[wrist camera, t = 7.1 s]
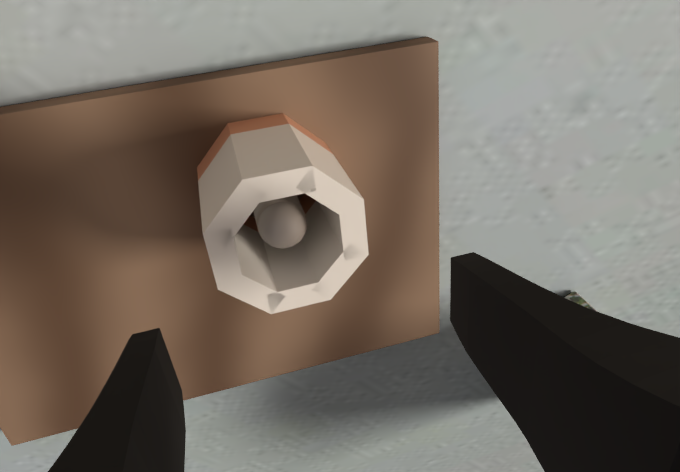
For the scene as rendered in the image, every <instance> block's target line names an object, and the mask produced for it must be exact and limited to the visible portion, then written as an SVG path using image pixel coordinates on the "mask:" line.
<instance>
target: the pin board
mask: <svg viewBox="0 0 680 472" xmlns="http://www.w3.org/2000/svg"><path fill="white" fill-rule="evenodd" d="M281 113H283V114H285V115H286V116H288V117H289V118H291V119H292V120H293V121H295V122H296V123H298V124H299V125H301V126H302V127H303V128H305V129H306V130H308V131H309V132H311V133H312V134H314V135H315V136H316V137H318V138H319V139H321V140H322V141H324V142H325V143H326V144H327V146H328V147H329V149H330V150H331V152H332V153H333V155H334V156H335V158H336V159H337V161H338V162H339V163H340V165H341V166H342V168H343V169H344V171H345V172H346V174H347V175H348V177H349V178H350V180H351V181H352V183H353V184H354V186H355V187H356V189H357V190H358V191H359V193H360V194H361V196H362V197H363V199H364V207H365V218H366V230H367V241H368V253H369V255H368V256H367V257H366V258H365V260H364V261H363V262H362V263H361V264H360V266H359V267H358V268H357V269H356V270H355V271H354V273H353V274H352V275H351V276H350V277H349V279H348V280H347V281H346V282H345V283H344V285H343V286H342V287H341V288H340V289H339V291H338V292H337V293H336V294H335V295H334V296H333V298H332V299H331V300H328V301H323V302H319V303H315V304H311V305H307V306H303V307H299V308H295V309H291V310H287V311H282V312H278V313H274V314H270V313H267V312H265V311H263V310H261V309H259V308H257V307H254V306H252V305H250V304H248V303H246V302H244V301H241V300H239V299H237V298H235V297H233V296H231V295H229V294H226V293H224V292H222V291H220V290H218V288H217V284H216V281H215V277H214V273H213V270H212V266H211V262H210V259H209V255H208V251H207V248H206V244H205V240H204V237H203V232H202V220H201V209H200V197H199V185H198V174H197V167H198V165H199V164H200V162H201V161H202V160H203V158H204V157H205V155H206V154H207V152H208V151H209V149H210V148H211V147H212V145H213V144H214V142H215V141H216V139H217V138H218V136H219V135H220V134H221V132H222V131H223V129H224V128H225V126H226V125H227V123H232V122H237V121H243V120H248V119H254V118H259V117H265V116H270V115H276V114H281ZM304 194H305V193H304ZM304 194H299V195H294V196H289V197H285V198H280V199H275V200H270V201H265V202H261V203H259V204H258V205H257V207H256V208H255V209H254V211H253V212H252V213H251V216H253V217H254V218H255V220H256V224H257V227H258V231H259V234H260V236H261V237H262V239H263V240H264V241H265V242H266V243H267V244H269V245H270V246H272V247H275V248H281V249H284V248H289V247H292V246H294V245H296V244H297V243H299V242H300V241H301V240H302V238H303V237H304V235H305V233H306V229H307V218H306V215H305V213H304V210H303V208H302V206H301V204H300V201H299V200H300V199H301V198H302V196H303V195H304ZM156 328H160V330H161V333H162V336H163V339H164V342H165V344H166V347H167V350H168V353H169V355H170V358H171V361H172V364H173V367H174V369H175V372H176V375H177V378H178V380H179V383H180V386H181V389H182V395H183V400H187V399H191V398H194V397H198V396H202V395H206V394H210V393H213V392H217V391H221V390H225V389H229V388H232V387H236V386H240V385H244V384H247V383H251V382H255V381H259V380H263V379H266V378H270V377H274V376H278V375H282V374H285V373H289V372H293V371H297V370H301V369H304V368H308V367H312V366H316V365H319V364H323V363H327V362H331V361H335V360H338V359H342V358H346V357H350V356H354V355H357V354H361V353H365V352H369V351H373V350H376V349H380V348H384V347H388V346H391V345H395V344H399V343H403V342H407V341H410V340H414V339H418V338H422V337H426V336H429V335H433V334H437V333H439V90H438V41H436V40H434V39H432V38H429V37H423V38H417V39H411V40H404V41H398V42H392V43H386V44H380V45H374V46H368V47H362V48H356V49H350V50H344V51H338V52H332V53H325V54H319V55H313V56H307V57H301V58H295V59H289V60H283V61H277V62H271V63H265V64H259V65H253V66H246V67H240V68H234V69H228V70H222V71H216V72H210V73H204V74H198V75H192V76H186V77H180V78H174V79H167V80H161V81H155V82H149V83H143V84H137V85H131V86H125V87H119V88H113V89H107V90H101V91H95V92H88V93H82V94H76V95H70V96H64V97H58V98H52V99H46V100H40V101H34V102H28V103H22V104H16V105H9V106H3V107H0V428H1V430H2V431H3V433H4V434H5V436H6V437H7V439H8V440H9V442H10V444H11V445H12V446H13V445H16V444H20V443H24V442H28V441H31V440H35V439H39V438H43V437H47V436H50V435H54V434H58V433H62V432H66V431H69V430H73V429H77V428H79V426H80V425H81V423H82V422H83V420H84V419H85V417H86V416H87V414H88V413H89V411H90V409H91V408H92V406H93V404H94V403H95V401H96V399H97V397H98V396H99V394H100V392H101V390H102V389H103V387H104V385H105V383H106V382H107V380H108V378H109V376H110V374H111V372H112V371H113V369H114V367H115V365H116V363H117V361H118V359H119V357H120V355H121V353H122V351H123V350H124V348H125V346H126V344H127V342H128V340H129V338H130V337H131V335H132V334H135V333H140V332H144V331H148V330H152V329H156Z"/></svg>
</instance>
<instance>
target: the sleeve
mask: <svg viewBox="0 0 680 472" xmlns="http://www.w3.org/2000/svg"><path fill="white" fill-rule="evenodd" d="M197 174H198V185H199V197H200V209H201V220H202V232H203V237H204V240H205V244H206V248H207V251H208V255H209V259H210V262H211V266H212V270H213V273H214V277H215V281H216V284H217V288H218V290H220V291H222V292H224V293H226V294H229V295H231V296H233V297H235V298H237V299H239V300H241V301H244V302H246V303H248V304H250V305H252V306H254V307H257V308H259V309H261V310H263V311H265V312H267V313H270V314H274V313H278V312H282V311H287V310H291V309H295V308H299V307H303V306H307V305H311V304H315V303H319V302H323V301H328V300H331V299H332V298H333V296H334V295H335V294H336V293H337V292H338V291H339V289H340V288H341V287H342V286H343V285H344V283H345V282H346V281H347V280H348V279H349V277H350V276H351V275H352V274H353V273H354V271H355V270H356V269H357V268H358V267H359V266H360V264H361V263H362V262H363V261H364V260H365V258H366V257H367V256H368V255H369V253H368V241H367V230H366V218H365V207H364V199H363V197H362V196H361V194H360V193H359V191H358V190H357V189H356V187H355V186H354V184H353V183H352V181H351V180H350V178H349V177H348V175H347V174H346V172H345V171H344V169H343V168H342V166H341V165H340V163H339V162H338V161H337V159H336V158H335V156H334V155H333V153H332V152H331V150H330V149H329V147H328V146H327V144H326V143H325V142H324V141H322V140H321V139H319V138H318V137H316V136H315V135H314V134H312V133H311V132H309V131H308V130H306V129H305V128H303V127H302V126H301V125H299V124H298V123H296V122H295V121H293V120H292V119H291V118H289V117H288V116H286V115H285V114H283V113H281V114H276V115H270V116H265V117H259V118H254V119H248V120H243V121H237V122H232V123H227V125H226V126H225V128H224V129H223V131H222V132H221V134H220V135H219V136H218V138H217V139H216V141H215V142H214V144H213V145H212V147H211V148H210V149H209V151H208V152H207V154H206V155H205V157H204V158H203V160H202V161H201V162H200V164H199V165H198V167H197ZM304 193H305V194H304ZM299 194H304V195H303V196H302V198H301V199H300V200H299V201H300V204H301V206H302V208H303V210H304V213H305V215H306V218H307V229H306V233H305V235H304V237H303V238H302V240H301V241H300V242H299V243H297V244H296V245H294V246H292V247H289V248H284V249H281V248H275V247H272V246H270V245H269V244H267V243H266V242H265V241H264V240H263V239H262V237H261V236H260V234H259V231H258V227H257V224H256V220H255V218H254V217H253V216H251V213H252V212H253V211H254V209H255V208H256V207H257V205H258V204H259V203H261V202H265V201H270V200H275V199H280V198H285V197H289V196H294V195H299Z"/></svg>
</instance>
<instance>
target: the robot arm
mask: <svg viewBox="0 0 680 472" xmlns="http://www.w3.org/2000/svg"><path fill="white" fill-rule="evenodd" d="M450 321H451V323H452V325H453V327H454V329H455V331H456V333H457V335H458V337H459V339H460V341H461V342H462V344H463V346H464V348H465V350H466V352H467V354H468V355H469V356H470V358H471V359H472V361H473V362H474V364H475V365H476V367H477V368H478V370H479V371H480V372H481V374H482V375H483V377H484V378H485V380H486V381H487V382H488V384H489V385H490V387H491V388H492V389H493V391H494V392H495V394H496V395H497V397H498V398H499V399H500V401H501V402H502V404H503V405H504V406H505V408H506V409H507V411H508V412H509V413H510V415H511V416H512V418H513V419H514V421H515V422H516V423H517V425H518V427H519V428H520V430H521V431H522V433H523V434H524V436H525V437H526V439H527V441H528V443H529V444H530V446H531V448H532V450H533V452H534V453H535V455H536V457H537V459H538V460H539V462H540V464H541V466H542V468H543V469H544V471H545V472H680V338H678V337H674V336H671V335H667V334H664V333H660V332H657V331H653V330H650V329H646V328H643V327H640V326H636V325H633V324H630V323H627V322H624V321H622V320H619V319H616V318H613V317H610V316H608V315H605V314H602V313H599V312H597V311H594V310H592V309H589V308H587V307H584V306H582V305H580V304H577V303H575V302H573V301H571V300H568V299H566V298H564V297H561V296H559V295H557V294H555V293H553V292H551V291H549V290H547V289H544V288H542V287H540V286H538V285H536V284H534V283H532V282H530V281H528V280H526V279H525V278H523V277H521V276H519V275H517V274H515V273H513V272H511V271H509V270H507V269H505V268H503V267H502V266H500V265H498V264H496V263H494V262H492V261H490V260H488V259H486V258H484V257H482V256H480V255H478V254H476V253H474V252H472V253H468V254H464V255H460V256H456V257H452V258H451V303H450ZM185 432H186V430H185V417H184V405H183V395H182V389H181V386H180V383H179V380H178V378H177V375H176V372H175V369H174V367H173V364H172V361H171V358H170V355H169V353H168V350H167V347H166V344H165V342H164V339H163V336H162V333H161V330H160V328H156V329H152V330H148V331H144V332H140V333H135V334H132V335H131V337H130V338H129V340H128V342H127V344H126V346H125V348H124V350H123V351H122V353H121V355H120V357H119V359H118V361H117V363H116V365H115V367H114V369H113V371H112V372H111V374H110V376H109V378H108V380H107V382H106V383H105V385H104V387H103V389H102V390H101V392H100V394H99V396H98V397H97V399H96V401H95V403H94V404H93V406H92V408H91V409H90V411H89V413H88V414H87V416H86V417H85V419H84V420H83V422H82V423H81V425H80V426H79V428H78V430H77V431H76V433H75V434H74V436H73V437H72V439H71V440H70V442H69V443H68V445H67V446H66V448H65V449H64V450H63V452H62V453H61V455H60V456H59V458H58V459H57V460H56V462H55V463H54V464H53V466H52V467H51V468H50V470H49V471H48V472H184V460H185Z"/></svg>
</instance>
